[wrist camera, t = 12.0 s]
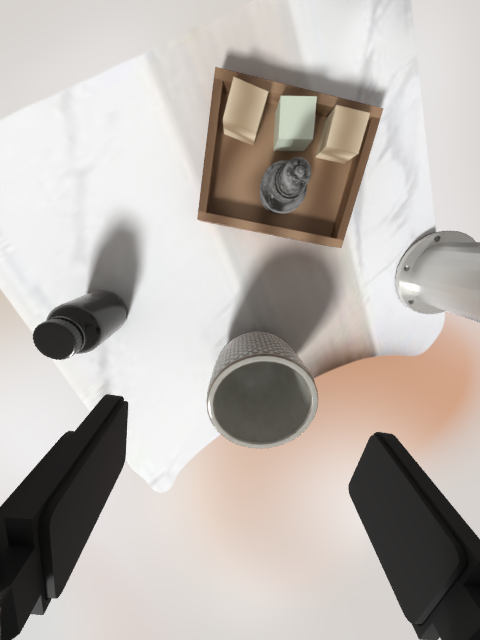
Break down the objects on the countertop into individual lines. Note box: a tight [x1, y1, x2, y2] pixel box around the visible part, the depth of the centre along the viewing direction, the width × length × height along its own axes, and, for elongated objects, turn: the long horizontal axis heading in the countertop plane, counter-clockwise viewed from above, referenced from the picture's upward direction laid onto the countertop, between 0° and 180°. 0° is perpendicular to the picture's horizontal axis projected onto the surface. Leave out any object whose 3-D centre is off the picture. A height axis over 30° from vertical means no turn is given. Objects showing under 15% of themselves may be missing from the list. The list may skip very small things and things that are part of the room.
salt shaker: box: [260, 157, 311, 214], centre depth 28 cm, size 6×6×12 cm
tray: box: [197, 67, 383, 248], centre depth 32 cm, size 20×16×3 cm
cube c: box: [223, 77, 268, 146], centre depth 29 cm, size 4×4×4 cm
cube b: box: [273, 96, 317, 151], centre depth 29 cm, size 4×4×4 cm
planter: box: [207, 331, 318, 448], centre depth 36 cm, size 14×14×13 cm
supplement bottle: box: [33, 291, 127, 360], centre depth 33 cm, size 7×7×12 cm
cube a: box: [315, 105, 370, 164], centre depth 30 cm, size 4×4×4 cm
